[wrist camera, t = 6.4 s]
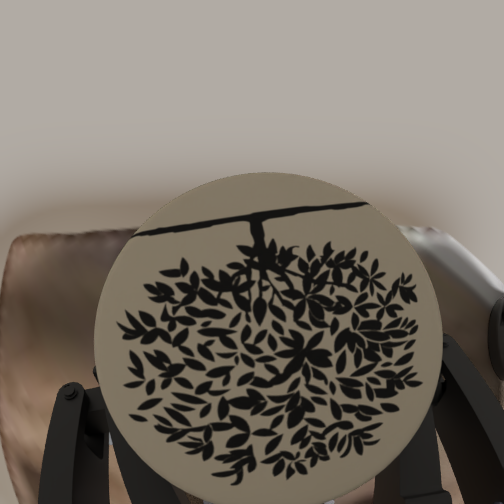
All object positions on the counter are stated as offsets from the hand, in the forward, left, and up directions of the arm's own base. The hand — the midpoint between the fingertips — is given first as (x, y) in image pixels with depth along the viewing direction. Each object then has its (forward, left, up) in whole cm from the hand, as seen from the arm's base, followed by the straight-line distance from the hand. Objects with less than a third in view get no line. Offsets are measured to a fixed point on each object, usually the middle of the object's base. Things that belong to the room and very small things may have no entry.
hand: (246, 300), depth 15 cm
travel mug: (0, +3, -8) cm, 9 cm away
